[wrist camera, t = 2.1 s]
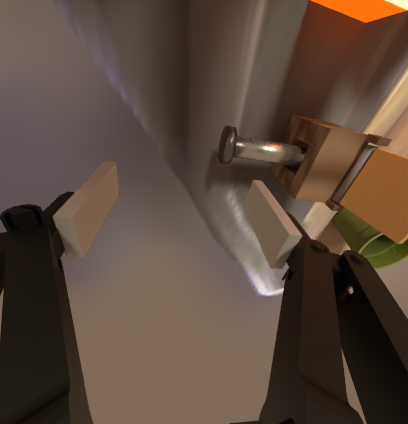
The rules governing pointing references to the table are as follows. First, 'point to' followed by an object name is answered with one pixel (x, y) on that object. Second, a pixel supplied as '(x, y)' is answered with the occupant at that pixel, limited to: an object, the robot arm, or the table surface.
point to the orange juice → (366, 8)
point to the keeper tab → (378, 192)
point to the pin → (257, 149)
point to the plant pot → (369, 241)
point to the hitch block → (321, 159)
